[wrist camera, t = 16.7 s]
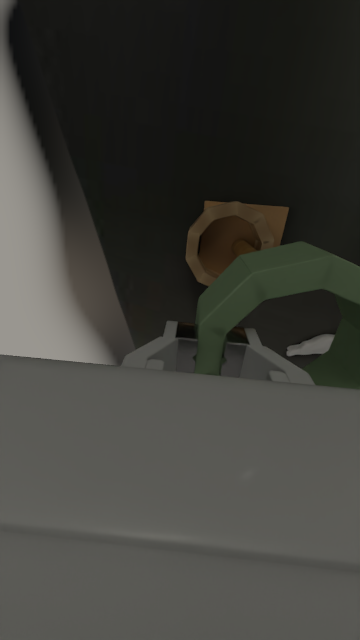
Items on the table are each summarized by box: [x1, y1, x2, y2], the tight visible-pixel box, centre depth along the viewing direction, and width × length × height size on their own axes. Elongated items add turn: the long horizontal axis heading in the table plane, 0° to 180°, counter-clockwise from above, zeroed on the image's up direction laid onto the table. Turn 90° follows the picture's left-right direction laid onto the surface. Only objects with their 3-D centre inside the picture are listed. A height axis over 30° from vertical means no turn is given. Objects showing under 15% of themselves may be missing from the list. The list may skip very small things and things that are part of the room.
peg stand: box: [197, 201, 289, 281], centre depth 23 cm, size 9×9×14 cm
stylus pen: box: [287, 334, 335, 356], centre depth 33 cm, size 15×3×2 cm, turn 109°
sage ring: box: [194, 241, 360, 389], centre depth 12 cm, size 9×9×3 cm
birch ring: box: [185, 201, 274, 286], centre depth 27 cm, size 9×9×3 cm
